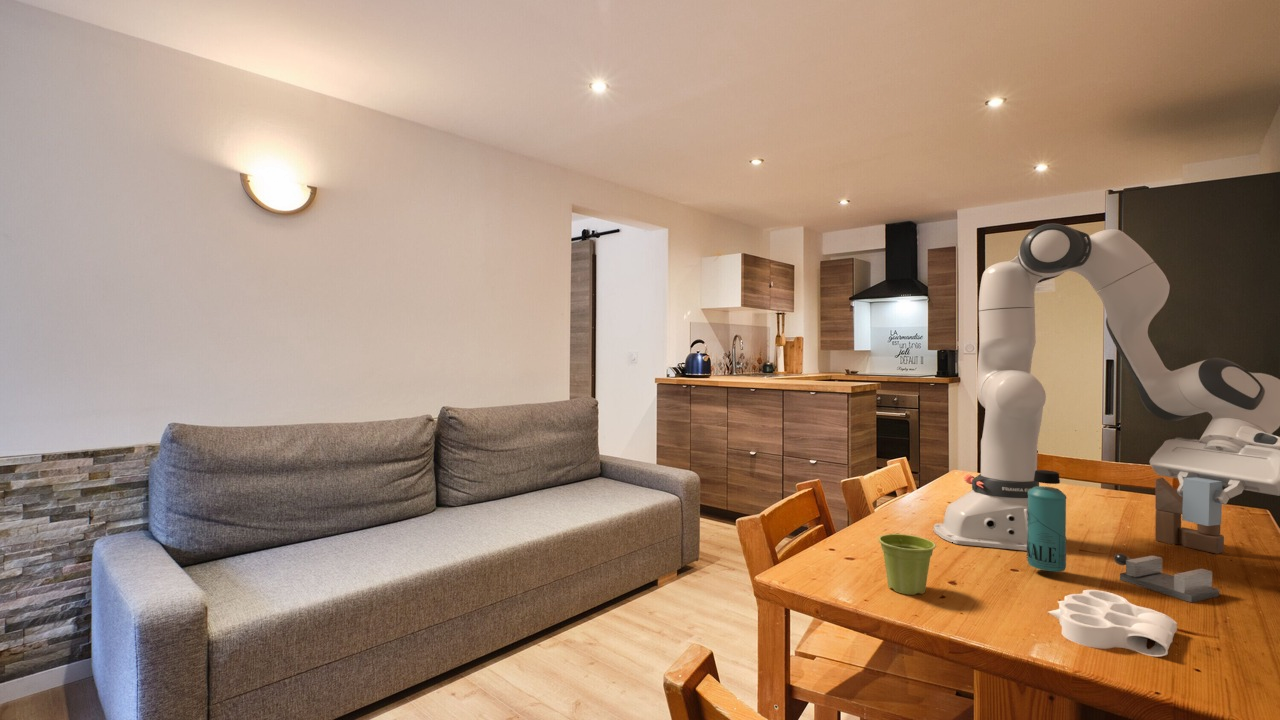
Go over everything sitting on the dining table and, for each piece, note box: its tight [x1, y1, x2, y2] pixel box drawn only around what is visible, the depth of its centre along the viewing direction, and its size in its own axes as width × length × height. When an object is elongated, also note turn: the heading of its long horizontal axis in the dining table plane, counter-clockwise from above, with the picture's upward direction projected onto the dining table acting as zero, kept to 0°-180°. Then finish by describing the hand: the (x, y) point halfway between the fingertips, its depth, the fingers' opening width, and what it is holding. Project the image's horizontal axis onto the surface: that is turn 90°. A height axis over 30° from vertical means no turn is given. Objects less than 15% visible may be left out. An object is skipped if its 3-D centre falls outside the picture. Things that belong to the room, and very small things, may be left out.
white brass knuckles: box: [1047, 589, 1178, 658], centre depth 91 cm, size 3×18×15 cm
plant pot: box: [878, 533, 936, 596], centre depth 107 cm, size 9×9×9 cm
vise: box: [1119, 568, 1220, 603], centre depth 107 cm, size 8×11×4 cm
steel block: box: [1181, 477, 1223, 526], centre depth 111 cm, size 4×4×8 cm
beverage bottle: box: [1026, 469, 1067, 572], centre depth 114 cm, size 6×7×20 cm
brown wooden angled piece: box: [1154, 477, 1225, 555], centre depth 131 cm, size 4×11×18 cm, turn 29°
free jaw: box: [1113, 553, 1163, 577], centre depth 113 cm, size 8×6×3 cm
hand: (1200, 498), depth 111 cm, fingers closed on steel block, 4 cm apart
